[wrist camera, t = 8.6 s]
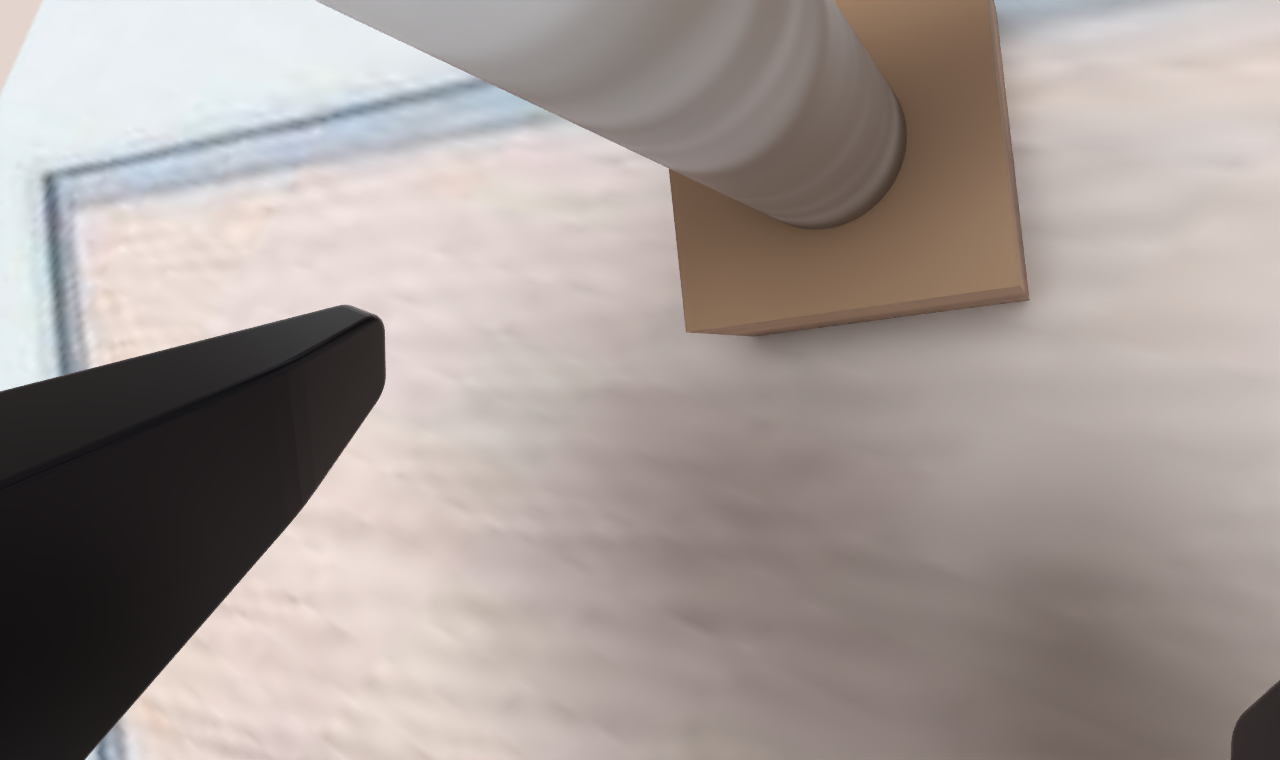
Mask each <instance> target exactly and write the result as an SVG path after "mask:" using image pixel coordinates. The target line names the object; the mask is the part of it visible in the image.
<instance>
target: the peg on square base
mask: <svg viewBox="0 0 1280 760" xmlns="http://www.w3.org/2000/svg"><path fill="white" fill-rule="evenodd" d="M316 1H318V2H319V3H321V4H323V5H325V6H328V7H330V8H332V9H334V10H336V11H338V12H340V13H342V14H344V15H347V16H349V17H351V18H353V19H355V20H357V21H359V22H361V23H363V24H366V25H368V26H370V27H372V28H374V29H376V30H378V31H380V32H382V33H385V34H387V35H389V36H391V37H393V38H395V39H397V40H399V41H401V42H404V43H406V44H408V45H410V46H412V47H414V48H416V49H418V50H420V51H423V52H425V53H427V54H429V55H431V56H433V57H435V58H437V59H439V60H442V61H444V62H446V63H448V64H450V65H452V66H454V67H456V68H458V69H461V70H463V71H465V72H467V73H469V74H471V75H473V76H475V77H477V78H480V79H482V80H484V81H486V82H488V83H490V84H492V85H494V86H496V87H499V88H501V89H503V90H505V91H507V92H509V93H511V94H513V95H515V96H518V97H520V98H522V99H524V100H526V101H528V102H530V103H532V104H534V105H537V106H539V107H541V108H543V109H545V110H547V111H549V112H551V113H553V114H556V115H558V116H560V117H562V118H564V119H566V120H568V121H570V122H572V123H575V124H577V125H579V126H581V127H583V128H585V129H587V130H589V131H591V132H594V133H596V134H598V135H600V136H602V137H604V138H606V139H608V140H610V141H612V142H615V143H617V144H619V145H621V146H623V147H625V148H627V149H629V150H631V151H634V152H636V153H638V154H640V155H642V156H644V157H646V158H648V159H650V160H653V161H655V162H657V163H659V164H661V165H663V166H665V167H667V168H669V173H670V183H671V192H672V202H673V212H674V221H675V231H676V240H677V250H678V259H679V269H680V278H681V288H682V297H683V307H684V316H685V326H686V332H692V333H708V334H724V335H739V336H759V335H766V334H774V333H782V332H789V331H797V330H804V329H812V328H820V327H827V326H835V325H842V324H850V323H858V322H865V321H873V320H880V319H888V318H896V317H903V316H911V315H918V314H926V313H934V312H941V311H949V310H956V309H964V308H972V307H979V306H987V305H995V304H1002V303H1010V302H1017V301H1025V300H1029V293H1028V285H1027V276H1026V267H1025V258H1024V250H1023V241H1022V232H1021V223H1020V215H1019V206H1018V197H1017V188H1016V179H1015V171H1014V162H1013V153H1012V144H1011V136H1010V127H1009V118H1008V109H1007V101H1006V92H1005V83H1004V74H1003V66H1002V57H1001V48H1000V39H999V31H998V22H997V13H996V8H995V3H994V0H316Z"/></svg>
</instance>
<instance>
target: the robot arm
mask: <svg viewBox="0 0 1280 760" xmlns="http://www.w3.org/2000/svg"><path fill="white" fill-rule="evenodd" d="M385 378H386V366H385V329H384V324H383V322H382V320H381V319H380V318H379V317H378V316H376V315H375V314H372V313H369V312H367V311H364V310H361V309H359V308H356V307H353V306H349V305H340V306H335V307H331V308H327V309H324V310H320V311H316V312H312V313H308V314H304V315H300V316H296V317H292V318H288V319H284V320H280V321H276V322H272V323H268V324H265V325H261V326H257V327H253V328H249V329H245V330H241V331H237V332H233V333H229V334H225V335H221V336H217V337H213V338H209V339H205V340H201V341H198V342H194V343H190V344H186V345H182V346H178V347H174V348H170V349H166V350H162V351H158V352H154V353H150V354H146V355H142V356H138V357H134V358H130V359H127V360H123V361H119V362H115V363H111V364H107V365H103V366H99V367H95V368H91V369H87V370H83V371H79V372H75V373H71V374H67V375H63V376H59V377H56V378H52V379H48V380H44V381H40V382H36V383H32V384H28V385H24V386H20V387H16V388H12V389H8V390H4V391H0V760H85V759H86V758H87V757H88V755H89V754H90V753H91V752H92V751H93V750H94V749H95V747H96V746H97V745H98V744H99V743H100V742H101V740H102V739H103V738H104V737H105V736H106V735H107V734H108V732H109V731H110V730H111V729H112V728H113V727H114V726H115V724H116V723H117V722H118V721H119V720H120V719H121V717H122V716H123V715H124V714H125V713H126V712H127V711H128V709H129V708H130V707H131V706H132V705H133V704H134V702H135V701H136V700H137V699H138V698H139V697H140V696H141V694H142V693H143V692H144V691H145V690H146V689H147V688H148V686H149V685H150V684H151V683H152V682H153V681H154V679H155V678H156V677H157V676H158V675H159V674H160V673H161V671H162V670H163V669H164V668H165V667H166V666H167V664H168V663H169V662H170V661H171V660H172V659H173V658H174V656H175V655H176V654H177V653H178V652H179V651H180V650H181V648H182V647H183V646H184V645H185V644H186V643H187V641H188V640H189V639H190V638H191V637H192V636H193V635H194V633H195V632H196V631H197V630H198V629H199V628H200V627H201V625H202V624H203V623H204V622H205V621H206V620H207V618H208V617H209V616H210V615H211V614H212V613H213V612H214V610H215V609H216V608H217V607H218V606H219V605H220V603H221V602H222V601H223V600H224V599H225V598H226V597H227V595H228V594H229V593H230V592H231V591H232V590H233V589H234V587H235V586H236V585H237V584H238V583H239V582H240V580H241V579H242V578H243V577H244V576H245V575H246V574H247V572H248V571H249V570H250V569H251V568H252V567H253V566H254V564H255V563H256V562H257V561H258V560H259V559H260V557H261V556H262V555H263V554H264V553H265V552H266V551H267V549H268V548H269V547H270V546H271V545H272V544H273V542H274V541H275V540H276V539H277V538H278V537H279V536H280V534H281V533H282V532H283V531H284V530H285V529H286V528H287V526H288V525H289V524H290V523H291V522H292V520H293V519H294V518H295V517H296V516H297V514H298V513H299V512H300V511H301V509H302V508H303V507H304V506H305V504H306V503H307V502H308V500H309V499H310V498H311V496H312V495H313V493H314V492H315V491H316V489H317V488H318V486H319V485H320V484H321V482H322V481H323V479H324V478H325V476H326V475H327V473H328V472H329V471H330V469H331V468H332V466H333V465H334V463H335V462H336V460H337V459H338V457H339V456H340V455H341V453H342V452H343V450H344V449H345V447H346V446H347V444H348V443H349V442H350V440H351V439H352V437H353V436H354V434H355V433H356V431H357V430H358V429H359V427H360V426H361V424H362V423H363V421H364V420H365V418H366V417H367V415H368V414H369V413H370V411H371V410H372V408H373V407H374V405H375V404H376V402H377V401H378V399H379V398H380V396H381V393H382V391H383V388H384V385H385ZM1231 760H1280V680H1279V681H1278V682H1277V683H1276V684H1275V685H1274V686H1273V687H1272V688H1270V689H1269V690H1268V691H1267V692H1266V693H1265V694H1264V695H1263V696H1262V697H1260V698H1259V699H1258V700H1257V701H1256V702H1255V703H1254V704H1253V705H1252V706H1250V707H1249V708H1248V709H1247V710H1246V711H1245V712H1244V713H1243V714H1242V715H1241V717H1240V718H1239V720H1238V721H1237V723H1236V726H1235V728H1234V731H1233V735H1232V743H1231Z"/></svg>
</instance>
